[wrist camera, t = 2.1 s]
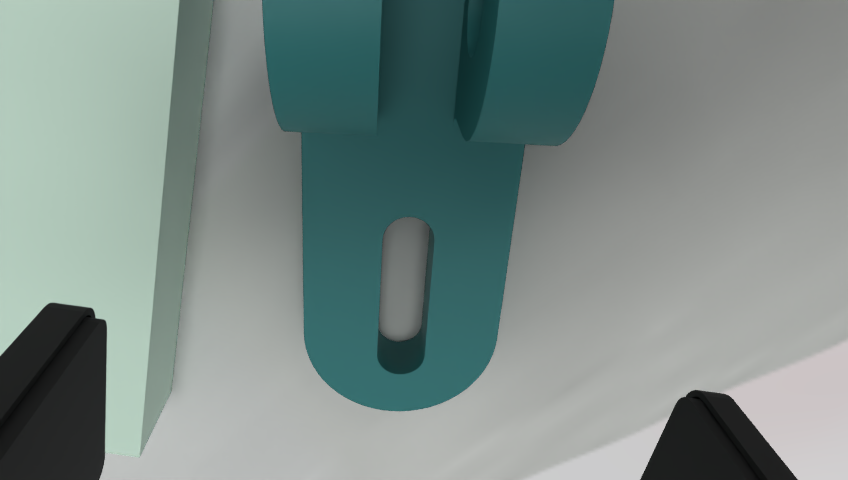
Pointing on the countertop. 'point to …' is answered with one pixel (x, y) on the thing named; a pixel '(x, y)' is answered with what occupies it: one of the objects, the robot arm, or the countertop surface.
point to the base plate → (102, 180)
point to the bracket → (420, 165)
